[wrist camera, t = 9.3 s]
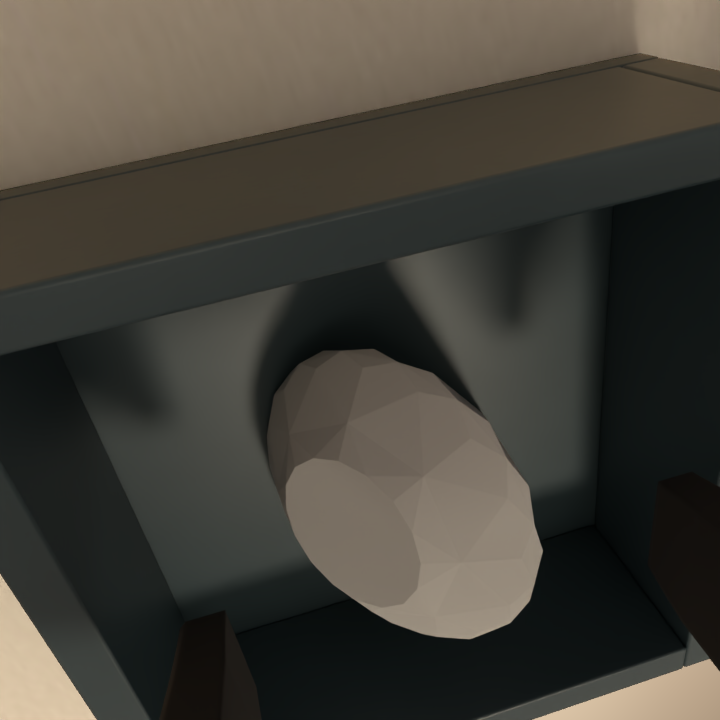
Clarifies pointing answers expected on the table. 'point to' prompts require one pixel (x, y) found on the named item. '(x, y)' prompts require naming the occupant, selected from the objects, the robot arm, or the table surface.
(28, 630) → the table surface
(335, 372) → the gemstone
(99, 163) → the table surface
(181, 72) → the table surface
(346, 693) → the bin
